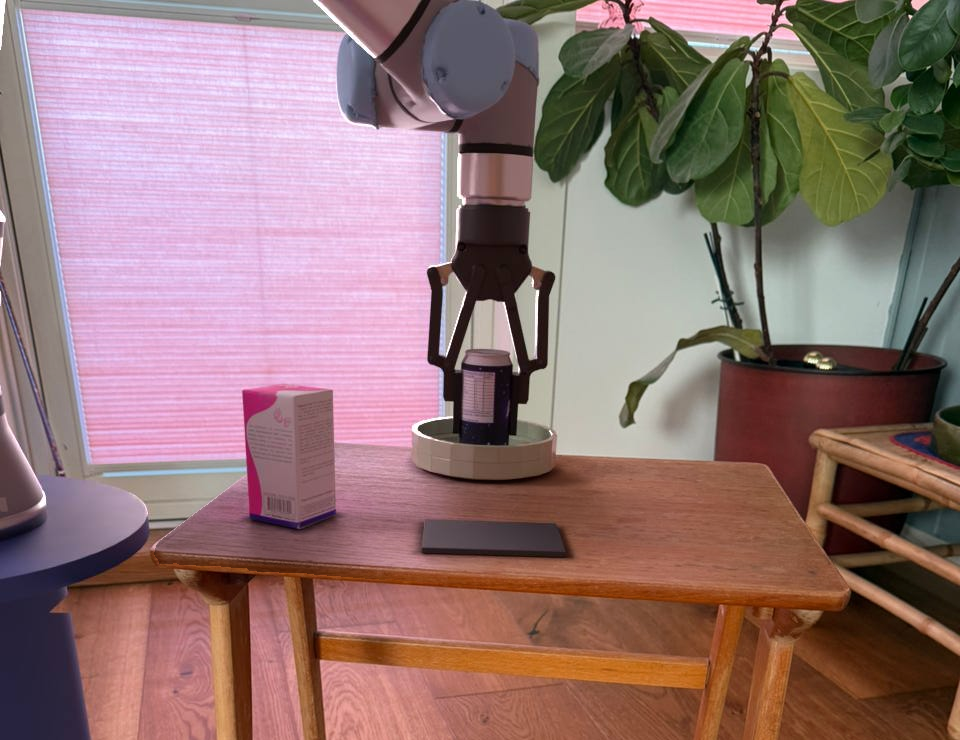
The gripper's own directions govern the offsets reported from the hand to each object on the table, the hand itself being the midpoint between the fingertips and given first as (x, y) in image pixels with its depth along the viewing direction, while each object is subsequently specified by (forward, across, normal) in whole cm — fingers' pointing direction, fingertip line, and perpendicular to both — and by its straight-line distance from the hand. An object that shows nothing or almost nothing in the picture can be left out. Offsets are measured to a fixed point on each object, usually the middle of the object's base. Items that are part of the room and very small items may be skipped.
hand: (484, 431), depth 102 cm
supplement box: (+4, +18, +22) cm, 29 cm away
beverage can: (+4, 0, 0) cm, 4 cm away
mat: (+4, 0, +27) cm, 27 cm away
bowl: (+4, 0, 0) cm, 4 cm away
